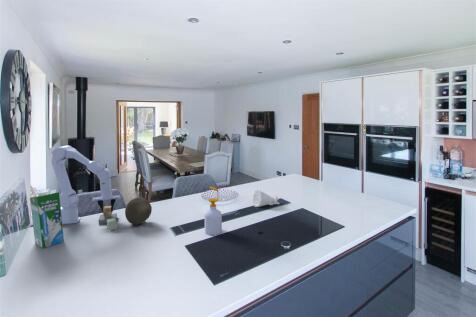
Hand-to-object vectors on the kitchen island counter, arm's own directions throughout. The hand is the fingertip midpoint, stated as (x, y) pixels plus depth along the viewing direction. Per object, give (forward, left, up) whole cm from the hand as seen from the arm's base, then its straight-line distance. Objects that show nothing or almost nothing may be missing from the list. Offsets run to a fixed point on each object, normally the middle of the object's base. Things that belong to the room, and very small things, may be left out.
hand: (107, 212), depth 159 cm
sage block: (+3, -13, -5) cm, 14 cm away
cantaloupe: (+17, -11, -5) cm, 21 cm away
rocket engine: (+101, -6, -6) cm, 101 cm away
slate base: (0, 0, -5) cm, 5 cm away
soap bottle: (+54, -36, -5) cm, 65 cm away
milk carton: (-24, -21, -5) cm, 32 cm away
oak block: (0, 0, -2) cm, 2 cm away
